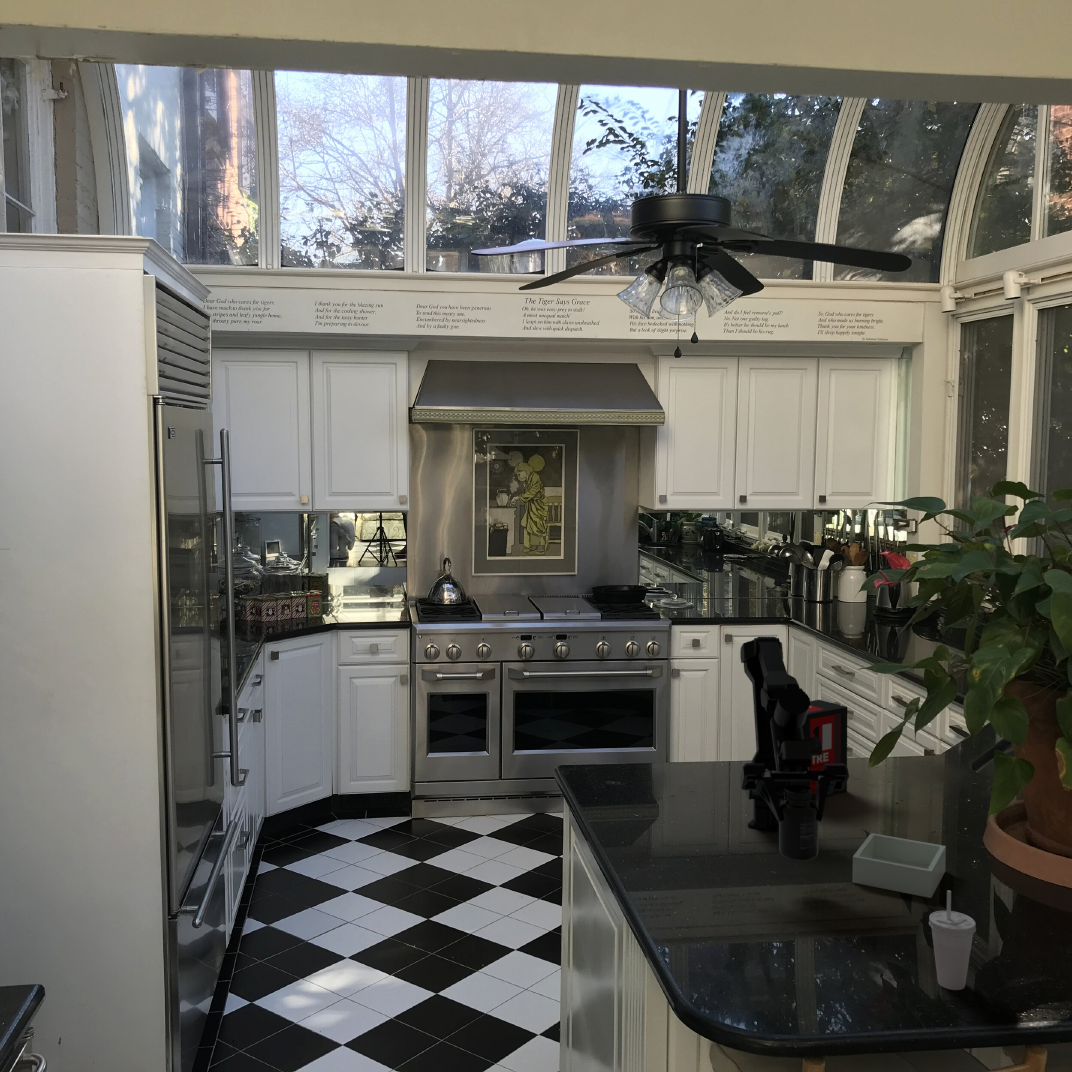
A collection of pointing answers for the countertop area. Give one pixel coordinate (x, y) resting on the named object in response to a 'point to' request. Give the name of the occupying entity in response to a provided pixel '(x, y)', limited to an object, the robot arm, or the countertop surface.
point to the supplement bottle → (798, 824)
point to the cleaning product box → (826, 737)
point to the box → (899, 865)
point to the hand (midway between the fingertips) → (800, 820)
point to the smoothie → (951, 945)
